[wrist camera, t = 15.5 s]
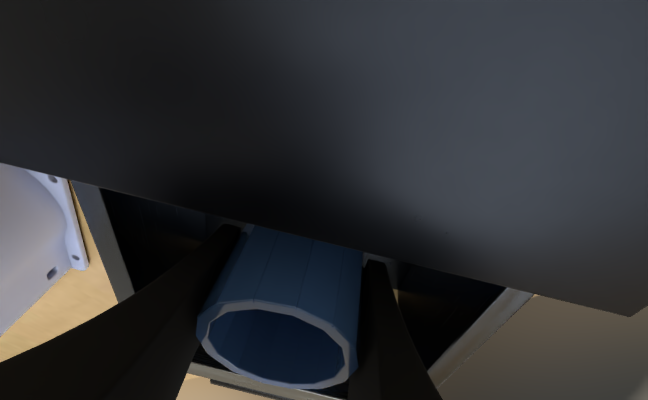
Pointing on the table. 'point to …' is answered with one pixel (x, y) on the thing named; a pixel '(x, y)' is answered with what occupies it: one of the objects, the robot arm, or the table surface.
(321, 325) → the cup
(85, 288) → the table surface
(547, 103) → the black drawer unit
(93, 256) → the table surface
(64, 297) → the table surface
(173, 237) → the dish drawer
